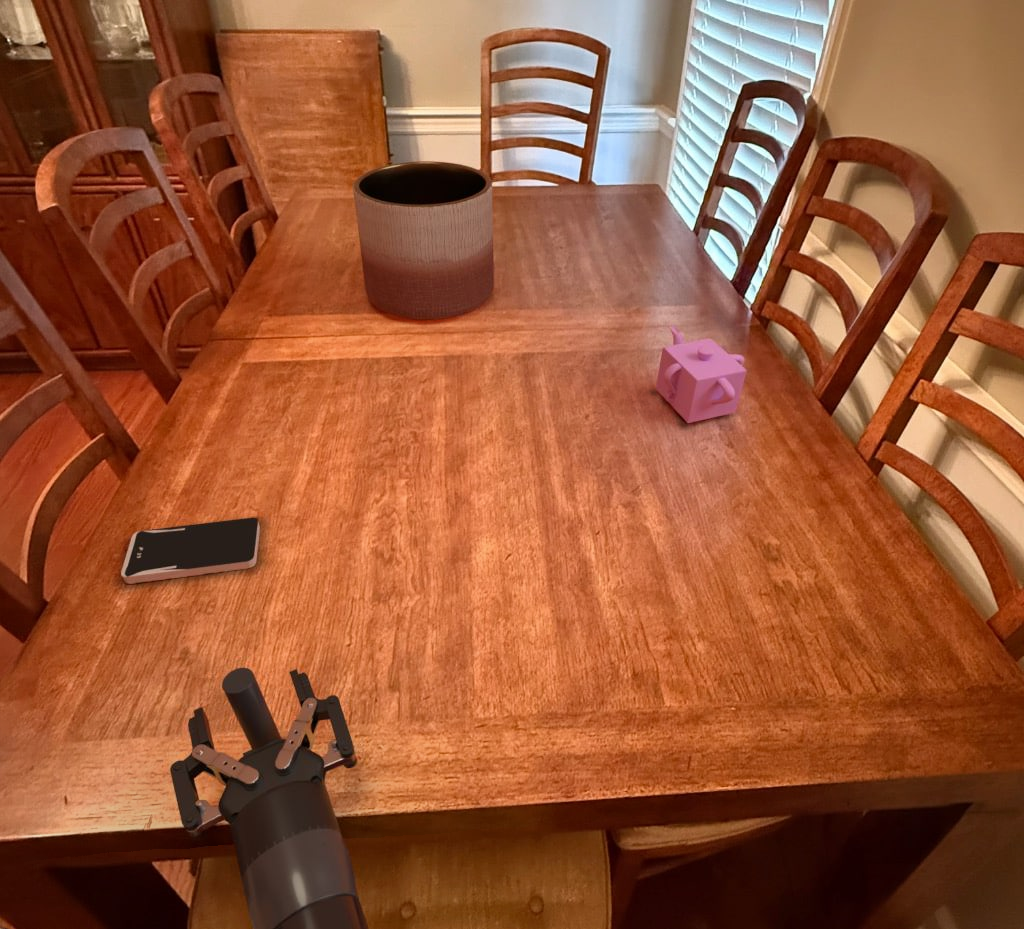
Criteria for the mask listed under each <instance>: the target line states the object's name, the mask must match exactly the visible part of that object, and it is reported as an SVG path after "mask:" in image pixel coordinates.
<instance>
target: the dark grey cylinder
mask: <svg viewBox="0 0 1024 929" xmlns="http://www.w3.org/2000/svg"><path fill="white" fill-rule="evenodd" d="M221 688H222V691H223V692H224V695H225V697H226V698H227V700H228V702H229V705H230V707H231V709H232V711H233V713H234V715H235V717H236V719H237V721H238V723H239V726H240V727H241V729H242V731H243V734H244V736H245V738H246V740H247V742H248V744H249V746H250V748H251V750H252V749H256V748H261V747H263V746H265V745H266V744H267V743H269V742H270V741H272V740H274V739H277V738H279V737H280V738H281V739H283V738H282V736H281V734H280V732H279V729H278V727H277V725H276V722H275V720H274V718H273V716H272V715H273V714H272V713H271V711H270V708H269V706H268V703H267V701H266V700H265V697H264V695H263V692H262V690H261V688H260V685H259V683H258V681H257V678H256V676H255V673H254V672H253V670H252V669H250V668H248V667H237V668H235V669H233V670H231V671H230V672H228V673H227V674H226V675H225V676H224V678H223V680H222V683H221Z"/></svg>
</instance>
